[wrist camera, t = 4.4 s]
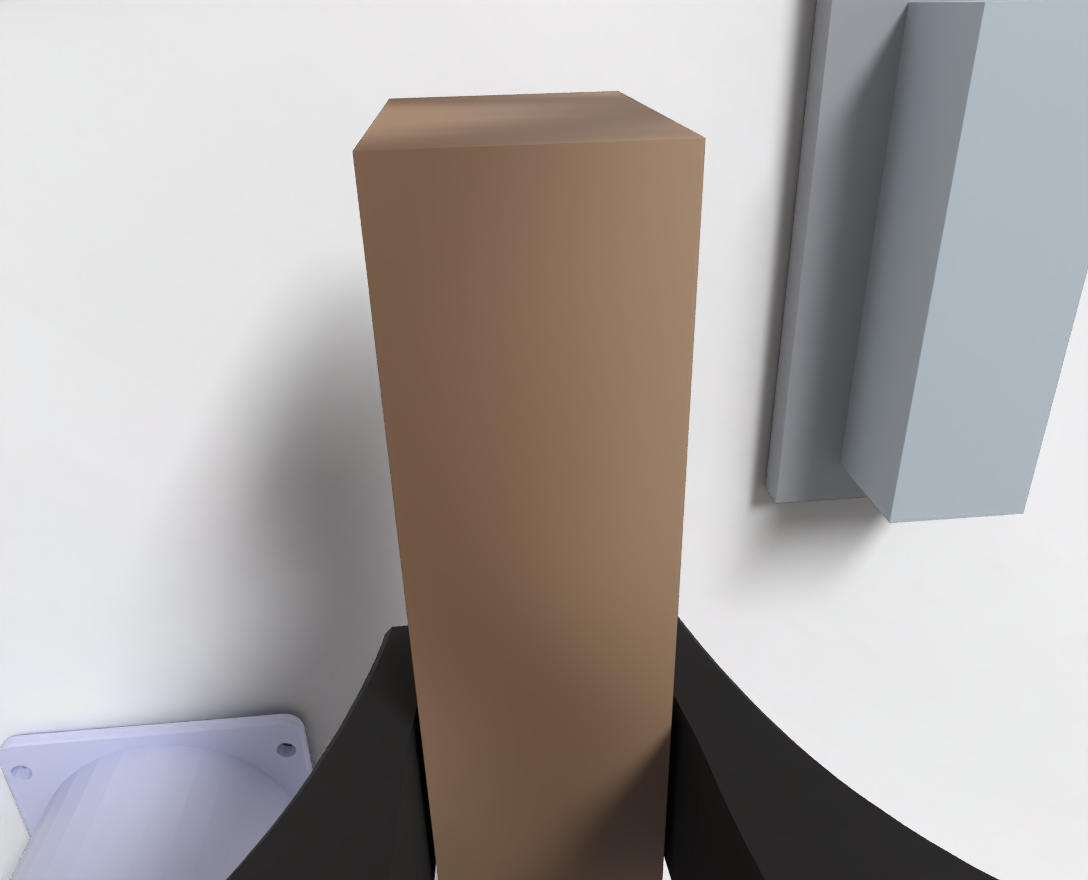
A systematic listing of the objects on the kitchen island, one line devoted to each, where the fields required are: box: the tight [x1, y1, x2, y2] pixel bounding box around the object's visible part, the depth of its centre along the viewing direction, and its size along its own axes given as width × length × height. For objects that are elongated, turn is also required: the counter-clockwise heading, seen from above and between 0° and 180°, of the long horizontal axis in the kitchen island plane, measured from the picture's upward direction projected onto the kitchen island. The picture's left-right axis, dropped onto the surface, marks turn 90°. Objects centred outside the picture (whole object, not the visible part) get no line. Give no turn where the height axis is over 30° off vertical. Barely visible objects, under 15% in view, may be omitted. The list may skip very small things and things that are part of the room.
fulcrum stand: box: [766, 0, 1088, 523], centre depth 18 cm, size 12×6×4 cm, turn 1°
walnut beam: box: [353, 91, 705, 880], centre depth 13 cm, size 3×16×4 cm, turn 2°
